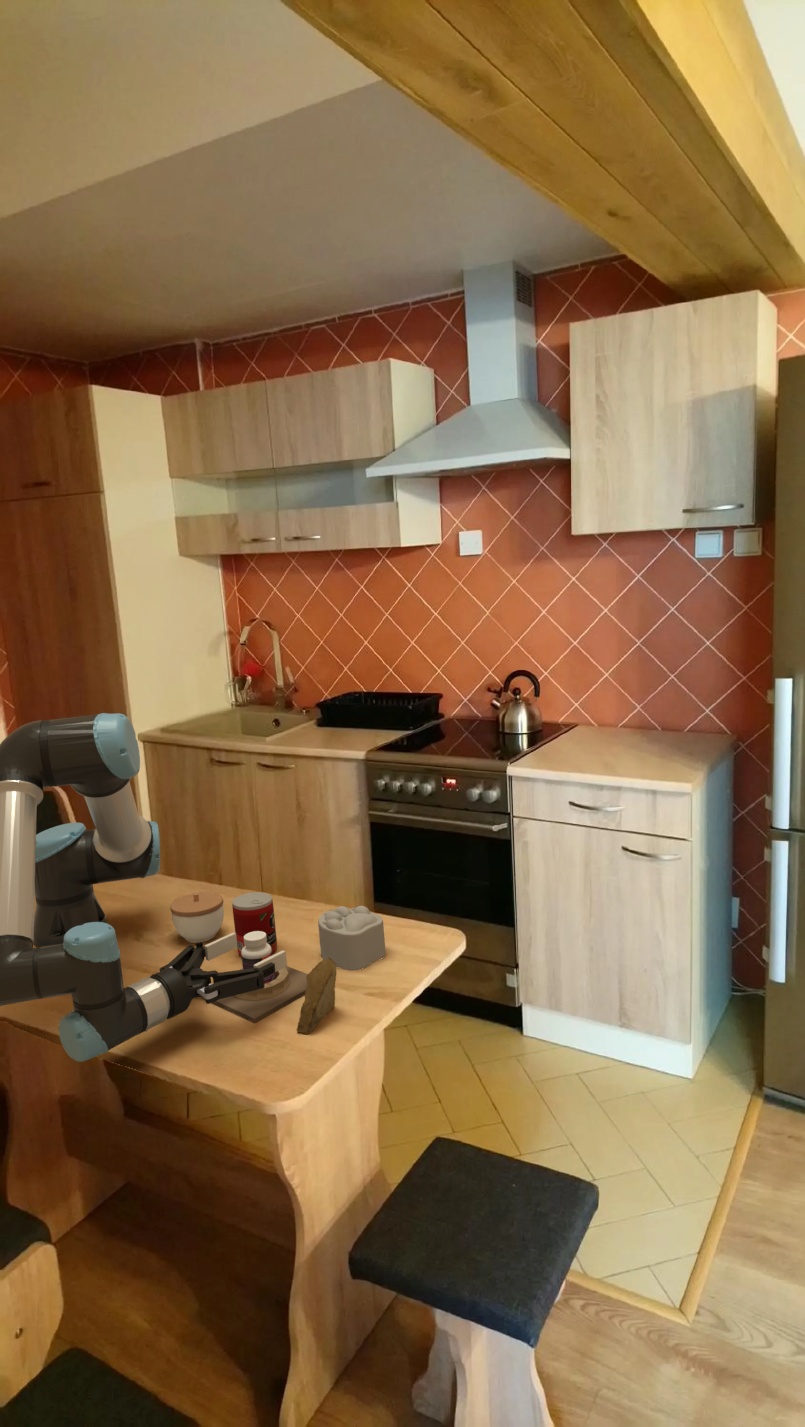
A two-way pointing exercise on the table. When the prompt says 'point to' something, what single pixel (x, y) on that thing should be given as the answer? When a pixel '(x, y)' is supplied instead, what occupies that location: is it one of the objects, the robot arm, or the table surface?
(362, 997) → the table surface
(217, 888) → the table surface
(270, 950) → the pill bottle
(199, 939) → the lidded jar
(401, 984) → the table surface
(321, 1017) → the rock
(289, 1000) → the ring plate
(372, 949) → the lumpy-topped squat cylinder
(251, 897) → the canned food
